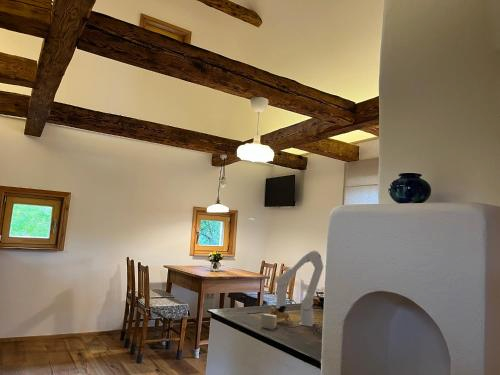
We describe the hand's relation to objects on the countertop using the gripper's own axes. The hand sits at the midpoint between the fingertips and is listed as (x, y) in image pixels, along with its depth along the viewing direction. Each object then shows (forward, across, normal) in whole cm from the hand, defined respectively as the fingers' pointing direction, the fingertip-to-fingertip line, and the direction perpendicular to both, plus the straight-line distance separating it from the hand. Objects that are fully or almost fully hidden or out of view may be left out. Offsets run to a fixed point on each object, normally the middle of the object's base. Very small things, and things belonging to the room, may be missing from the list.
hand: (280, 318), depth 231 cm
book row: (+2, +16, -2) cm, 16 cm away
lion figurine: (+2, +6, +1) cm, 6 cm away
